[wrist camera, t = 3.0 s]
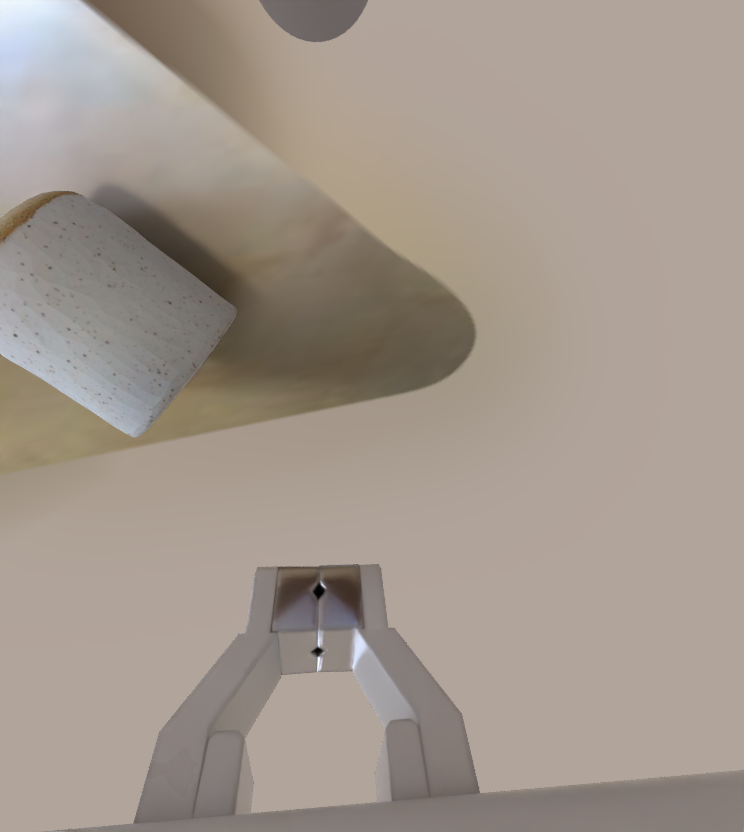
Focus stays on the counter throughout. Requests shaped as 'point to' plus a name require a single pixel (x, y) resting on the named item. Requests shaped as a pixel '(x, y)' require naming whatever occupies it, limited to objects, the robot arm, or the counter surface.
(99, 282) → the ceramic mug
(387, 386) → the counter surface
